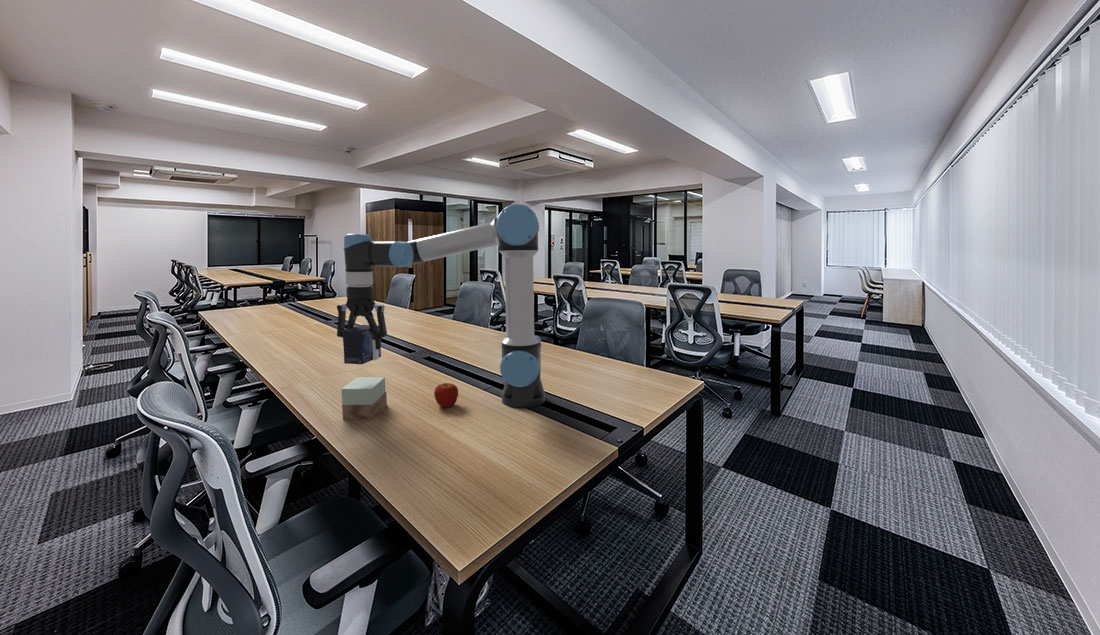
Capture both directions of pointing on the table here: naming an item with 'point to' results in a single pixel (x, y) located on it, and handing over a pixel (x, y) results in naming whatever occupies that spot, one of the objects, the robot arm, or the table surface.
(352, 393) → the tower top
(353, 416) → the tower base
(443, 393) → the apple
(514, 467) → the table surface
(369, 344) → the small box
